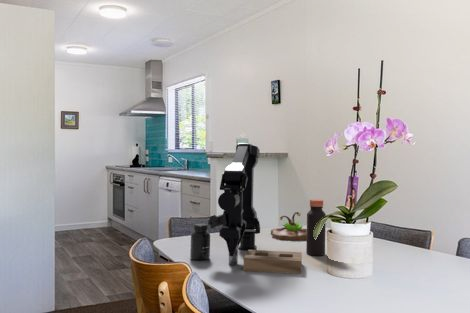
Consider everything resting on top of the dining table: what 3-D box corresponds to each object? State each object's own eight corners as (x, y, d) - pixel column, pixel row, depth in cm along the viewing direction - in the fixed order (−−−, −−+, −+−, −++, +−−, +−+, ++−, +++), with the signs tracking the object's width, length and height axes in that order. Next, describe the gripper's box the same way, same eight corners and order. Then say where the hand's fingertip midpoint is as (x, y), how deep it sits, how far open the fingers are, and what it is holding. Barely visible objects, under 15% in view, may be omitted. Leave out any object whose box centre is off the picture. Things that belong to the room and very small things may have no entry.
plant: (319, 242, 189) (319, 215, 189) (273, 241, 189) (273, 215, 189) (311, 233, 209) (311, 209, 209) (269, 232, 209) (270, 208, 209)
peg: (229, 262, 150) (229, 233, 150) (238, 263, 149) (238, 233, 149) (227, 265, 147) (228, 235, 147) (236, 265, 147) (237, 235, 146)
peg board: (248, 261, 152) (248, 249, 152) (301, 264, 150) (301, 252, 150) (243, 270, 141) (243, 257, 141) (301, 273, 138) (301, 260, 138)
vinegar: (302, 254, 164) (303, 200, 164) (312, 251, 169) (313, 198, 169) (318, 257, 160) (319, 201, 160) (328, 254, 165) (329, 200, 164)
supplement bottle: (207, 261, 151) (207, 226, 151) (187, 260, 152) (188, 225, 152) (212, 257, 158) (212, 223, 158) (193, 255, 159) (194, 222, 159)
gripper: (215, 202, 159) (215, 246, 159) (203, 209, 140) (203, 259, 140) (246, 203, 157) (246, 248, 157) (238, 210, 138) (238, 260, 139)
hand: (233, 253), depth 148 cm, fingers open, 7 cm apart
